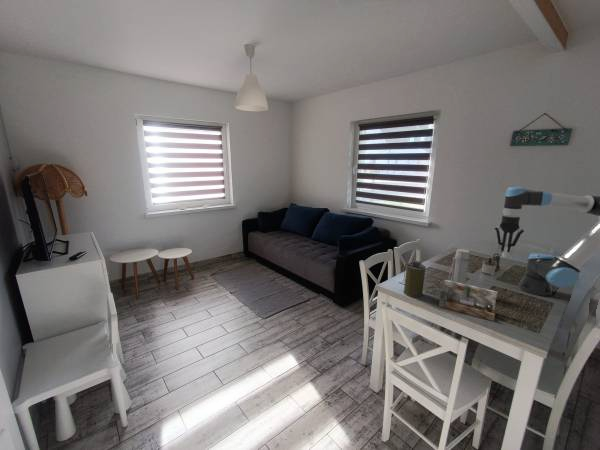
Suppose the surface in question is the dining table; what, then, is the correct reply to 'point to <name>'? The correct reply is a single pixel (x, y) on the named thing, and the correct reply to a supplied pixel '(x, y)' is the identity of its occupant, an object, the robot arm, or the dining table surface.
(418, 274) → the canister
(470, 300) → the silver block with knob
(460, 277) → the water bottle
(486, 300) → the brown wooden box
